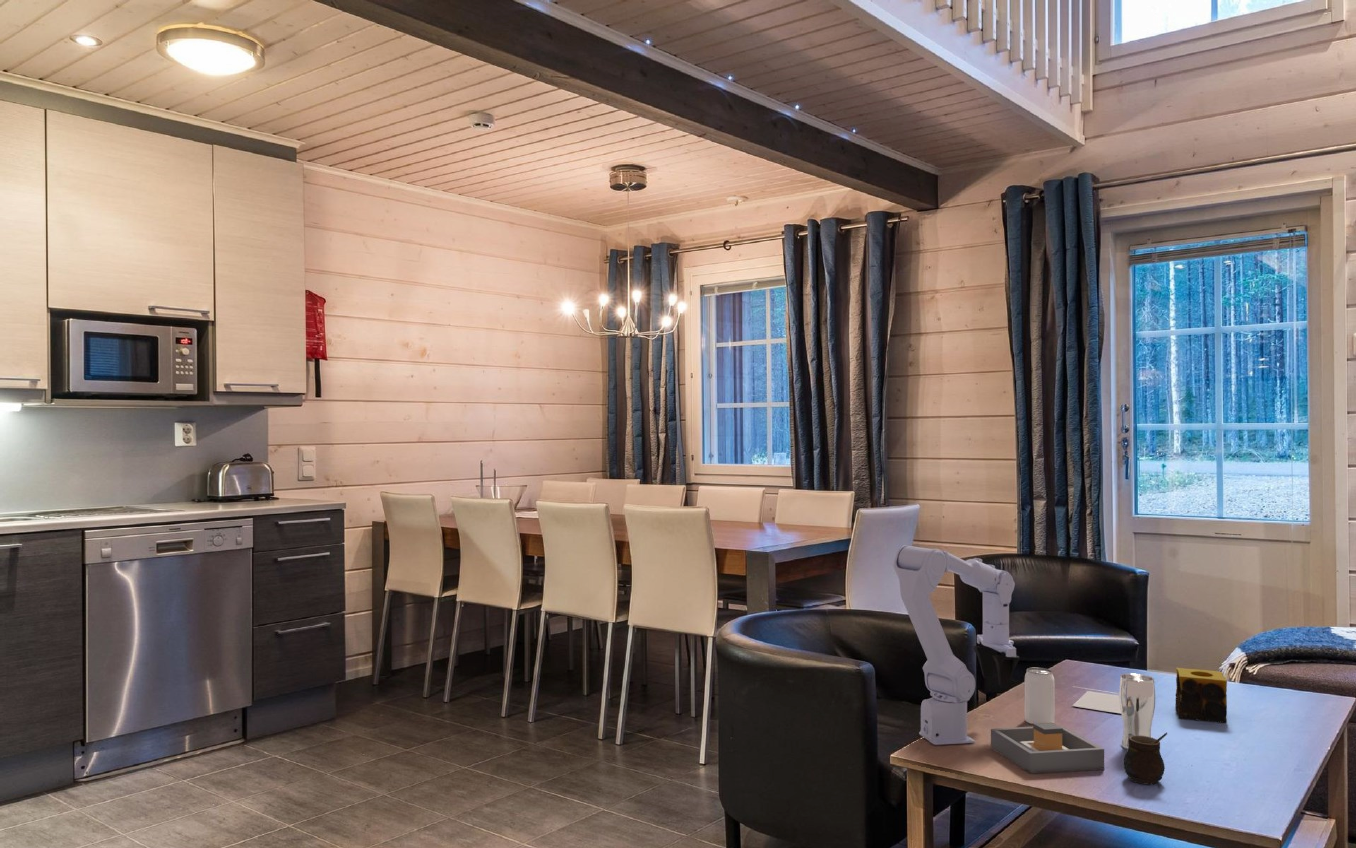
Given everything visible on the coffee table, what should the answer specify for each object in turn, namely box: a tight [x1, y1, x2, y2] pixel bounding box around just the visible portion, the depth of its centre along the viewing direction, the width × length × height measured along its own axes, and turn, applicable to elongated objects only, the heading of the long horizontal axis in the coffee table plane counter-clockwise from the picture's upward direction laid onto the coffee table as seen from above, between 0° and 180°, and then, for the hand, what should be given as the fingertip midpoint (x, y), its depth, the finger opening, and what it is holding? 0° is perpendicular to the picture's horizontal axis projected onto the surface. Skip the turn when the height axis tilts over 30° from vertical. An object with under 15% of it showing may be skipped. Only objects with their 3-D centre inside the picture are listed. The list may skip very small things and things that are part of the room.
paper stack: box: [1071, 685, 1122, 715], centre depth 246 cm, size 23×25×1 cm
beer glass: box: [1118, 673, 1156, 750], centre depth 207 cm, size 7×7×15 cm
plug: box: [1032, 722, 1063, 751], centre depth 201 cm, size 4×4×6 cm
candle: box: [1174, 667, 1228, 724], centre depth 231 cm, size 10×10×10 cm
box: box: [990, 724, 1105, 775], centre depth 200 cm, size 16×16×4 cm
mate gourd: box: [1123, 732, 1168, 785], centre depth 188 cm, size 7×8×10 cm
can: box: [1024, 667, 1055, 726], centre depth 225 cm, size 6×6×12 cm
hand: (996, 681), depth 221 cm, fingers open, 7 cm apart
